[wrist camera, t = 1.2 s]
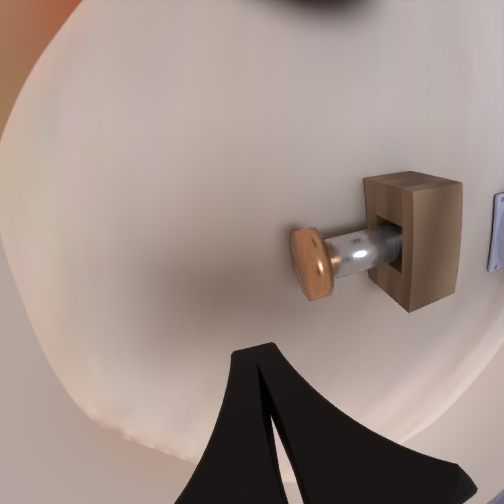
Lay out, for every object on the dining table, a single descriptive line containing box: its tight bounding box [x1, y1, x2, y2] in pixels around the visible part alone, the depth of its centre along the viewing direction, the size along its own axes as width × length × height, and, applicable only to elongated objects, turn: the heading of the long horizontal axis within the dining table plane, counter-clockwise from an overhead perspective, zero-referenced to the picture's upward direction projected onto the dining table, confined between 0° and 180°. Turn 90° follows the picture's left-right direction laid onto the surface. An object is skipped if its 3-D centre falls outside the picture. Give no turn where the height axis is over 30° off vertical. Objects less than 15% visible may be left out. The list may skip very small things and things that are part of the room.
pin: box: [291, 223, 402, 301], centre depth 15 cm, size 6×4×4 cm, turn 101°
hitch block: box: [363, 171, 463, 313], centre depth 16 cm, size 4×7×5 cm, turn 11°
